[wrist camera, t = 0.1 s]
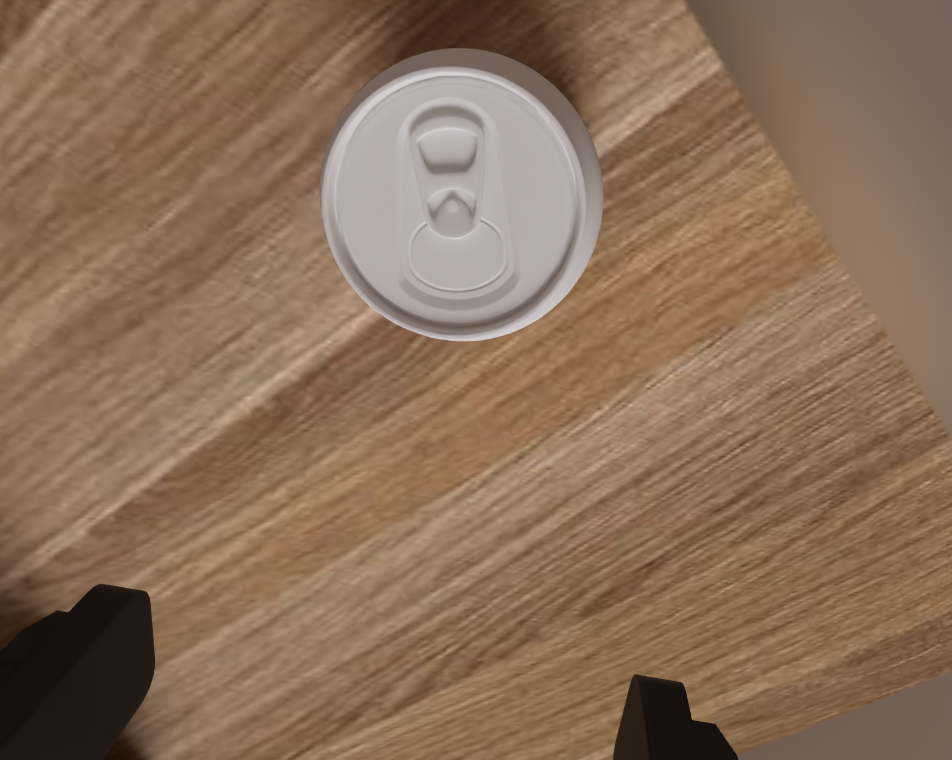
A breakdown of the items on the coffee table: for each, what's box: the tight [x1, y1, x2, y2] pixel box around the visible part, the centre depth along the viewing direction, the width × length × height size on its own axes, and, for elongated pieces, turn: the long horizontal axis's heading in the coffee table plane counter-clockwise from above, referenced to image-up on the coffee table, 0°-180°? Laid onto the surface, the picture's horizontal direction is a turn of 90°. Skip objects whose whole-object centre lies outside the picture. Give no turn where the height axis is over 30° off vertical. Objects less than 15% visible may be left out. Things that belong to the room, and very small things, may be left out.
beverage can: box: [320, 48, 603, 341], centre depth 24 cm, size 8×8×12 cm
